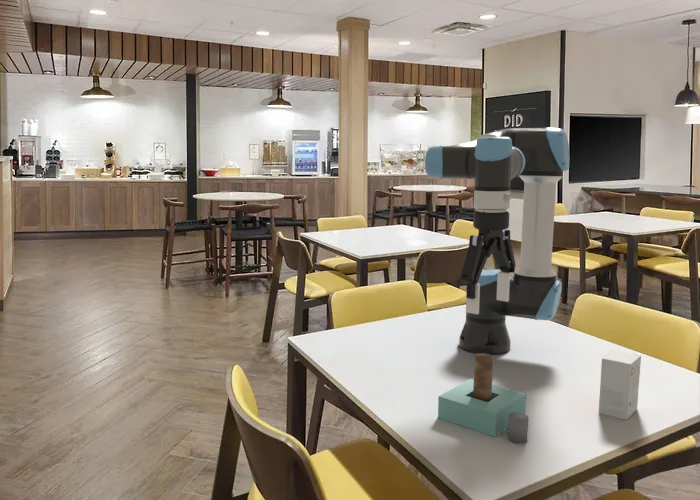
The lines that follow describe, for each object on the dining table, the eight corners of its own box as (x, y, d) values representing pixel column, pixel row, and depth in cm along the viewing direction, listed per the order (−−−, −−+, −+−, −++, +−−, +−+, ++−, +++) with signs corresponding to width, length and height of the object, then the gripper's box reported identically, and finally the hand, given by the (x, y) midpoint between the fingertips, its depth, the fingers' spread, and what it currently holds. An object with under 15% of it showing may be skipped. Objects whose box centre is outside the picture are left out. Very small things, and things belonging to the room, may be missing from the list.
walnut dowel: (469, 416, 139) (471, 356, 137) (477, 411, 142) (480, 352, 140) (485, 421, 137) (487, 360, 134) (493, 415, 140) (496, 355, 137)
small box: (609, 402, 147) (613, 349, 145) (637, 409, 143) (642, 354, 141) (597, 413, 141) (601, 357, 139) (626, 420, 137) (631, 364, 135)
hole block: (438, 417, 139) (438, 396, 138) (470, 398, 149) (470, 378, 148) (495, 436, 130) (496, 413, 129) (525, 415, 140) (526, 393, 139)
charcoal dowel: (503, 439, 128) (504, 416, 127) (512, 433, 131) (513, 410, 130) (522, 445, 126) (523, 422, 125) (530, 438, 129) (532, 415, 128)
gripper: (477, 216, 122) (474, 322, 125) (533, 206, 140) (529, 298, 144) (444, 214, 126) (442, 315, 130) (502, 204, 145) (499, 293, 149)
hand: (488, 306), depth 137 cm, fingers open, 13 cm apart
